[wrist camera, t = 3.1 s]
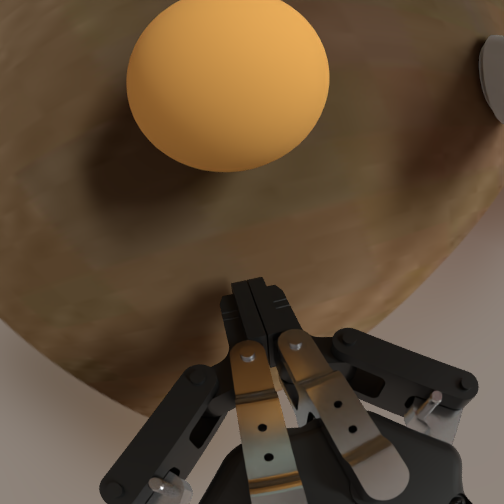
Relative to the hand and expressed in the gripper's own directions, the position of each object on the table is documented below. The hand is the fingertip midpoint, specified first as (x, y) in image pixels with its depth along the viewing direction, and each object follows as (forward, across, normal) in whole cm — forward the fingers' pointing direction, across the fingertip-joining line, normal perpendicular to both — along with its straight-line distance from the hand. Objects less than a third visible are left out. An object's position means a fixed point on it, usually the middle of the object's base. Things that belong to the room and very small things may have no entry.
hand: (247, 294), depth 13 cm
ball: (-1, 0, -10) cm, 10 cm away
